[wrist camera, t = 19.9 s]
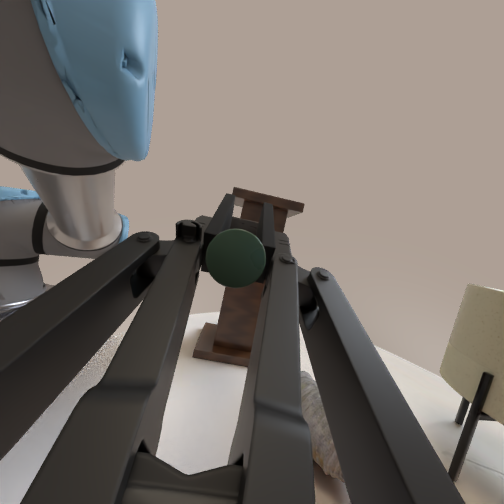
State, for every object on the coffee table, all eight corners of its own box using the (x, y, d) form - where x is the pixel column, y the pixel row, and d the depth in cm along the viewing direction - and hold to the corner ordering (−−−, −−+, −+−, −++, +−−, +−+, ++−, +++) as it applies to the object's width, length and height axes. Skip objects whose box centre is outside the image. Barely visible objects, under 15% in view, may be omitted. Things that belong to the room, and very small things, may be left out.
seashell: (298, 366, 32) (313, 337, 28) (355, 488, 21) (393, 469, 17) (263, 374, 30) (274, 344, 26) (307, 514, 19) (336, 499, 15)
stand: (192, 357, 33) (227, 185, 30) (204, 328, 43) (231, 197, 40) (270, 370, 34) (310, 205, 31) (263, 339, 44) (294, 211, 41)
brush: (278, 297, 8) (301, 200, 7) (179, 278, 7) (199, 175, 7) (252, 251, 29) (258, 225, 28) (226, 245, 28) (231, 219, 28)
